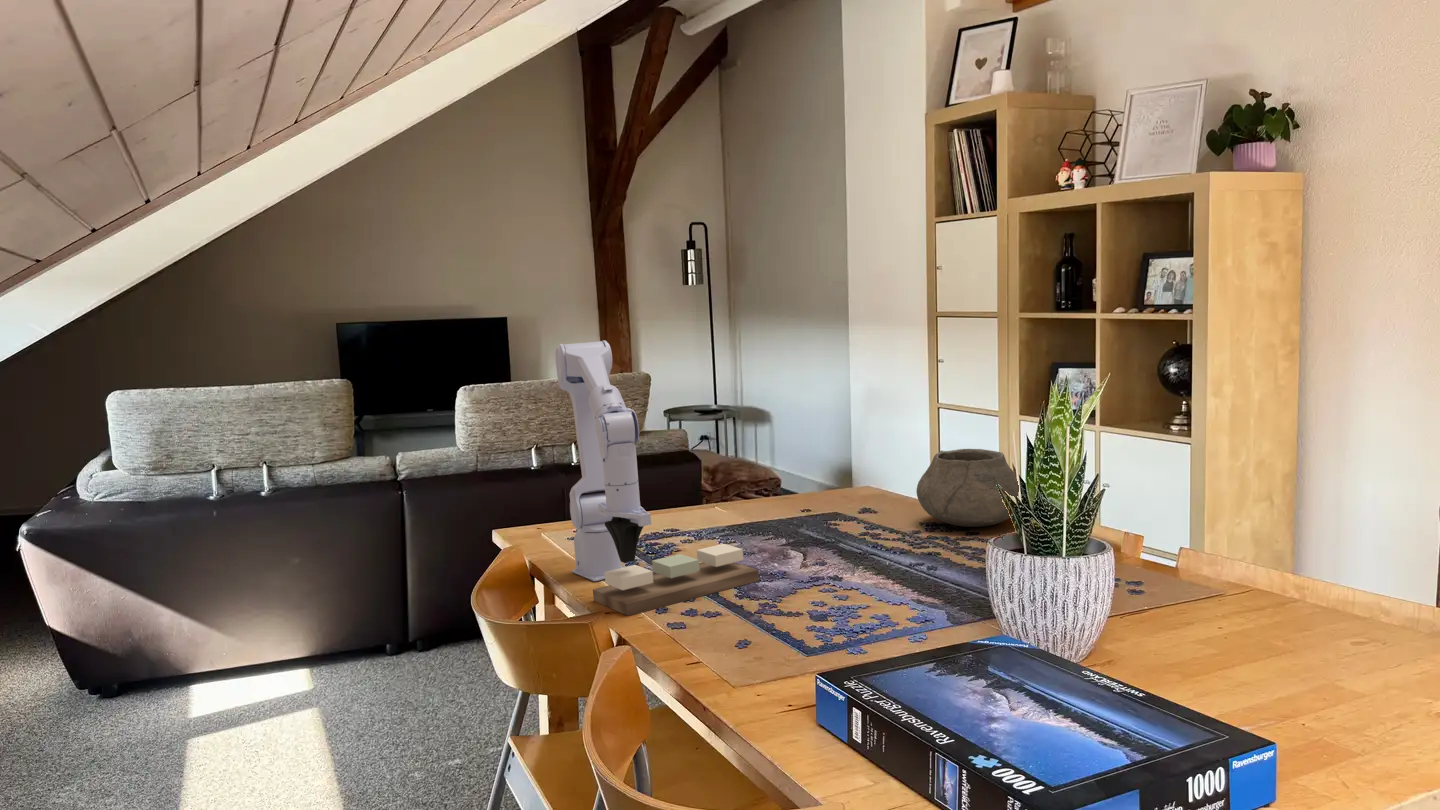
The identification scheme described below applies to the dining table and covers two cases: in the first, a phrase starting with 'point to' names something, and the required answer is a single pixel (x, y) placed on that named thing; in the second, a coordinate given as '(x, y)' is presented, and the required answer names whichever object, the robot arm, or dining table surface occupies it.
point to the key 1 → (628, 577)
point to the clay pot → (967, 487)
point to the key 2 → (720, 555)
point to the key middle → (675, 565)
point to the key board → (675, 588)
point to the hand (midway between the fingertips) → (627, 561)
